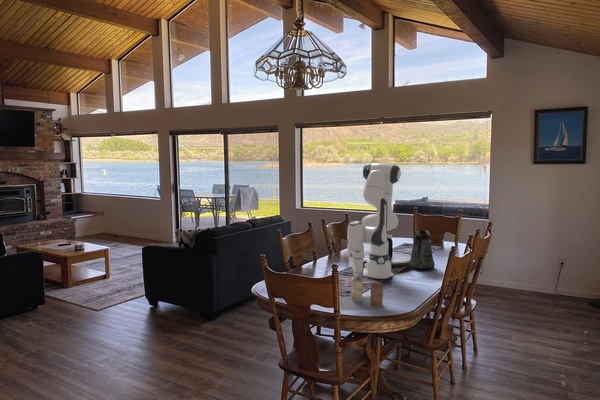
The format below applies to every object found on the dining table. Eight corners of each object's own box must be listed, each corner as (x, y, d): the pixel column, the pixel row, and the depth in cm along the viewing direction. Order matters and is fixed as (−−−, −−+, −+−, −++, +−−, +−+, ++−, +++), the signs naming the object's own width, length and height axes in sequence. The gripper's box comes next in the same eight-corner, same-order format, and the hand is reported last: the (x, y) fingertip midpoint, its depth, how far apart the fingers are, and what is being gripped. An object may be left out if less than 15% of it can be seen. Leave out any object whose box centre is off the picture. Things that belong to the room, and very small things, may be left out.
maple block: (351, 297, 230) (351, 276, 229) (360, 297, 230) (361, 276, 229) (352, 300, 225) (353, 279, 224) (362, 300, 225) (362, 279, 224)
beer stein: (432, 265, 295) (434, 229, 292) (436, 273, 276) (438, 234, 273) (407, 264, 298) (409, 228, 295) (409, 272, 279) (411, 233, 276)
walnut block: (370, 303, 221) (371, 282, 220) (380, 303, 222) (380, 282, 220) (372, 306, 216) (373, 285, 215) (382, 306, 217) (383, 285, 215)
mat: (336, 297, 231) (336, 296, 231) (377, 297, 232) (377, 296, 232) (341, 310, 212) (341, 309, 212) (386, 310, 213) (386, 309, 213)
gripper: (346, 247, 244) (346, 272, 245) (353, 255, 223) (353, 282, 224) (357, 247, 244) (357, 271, 245) (365, 255, 224) (365, 281, 225)
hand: (355, 276), depth 235 cm, fingers closed
